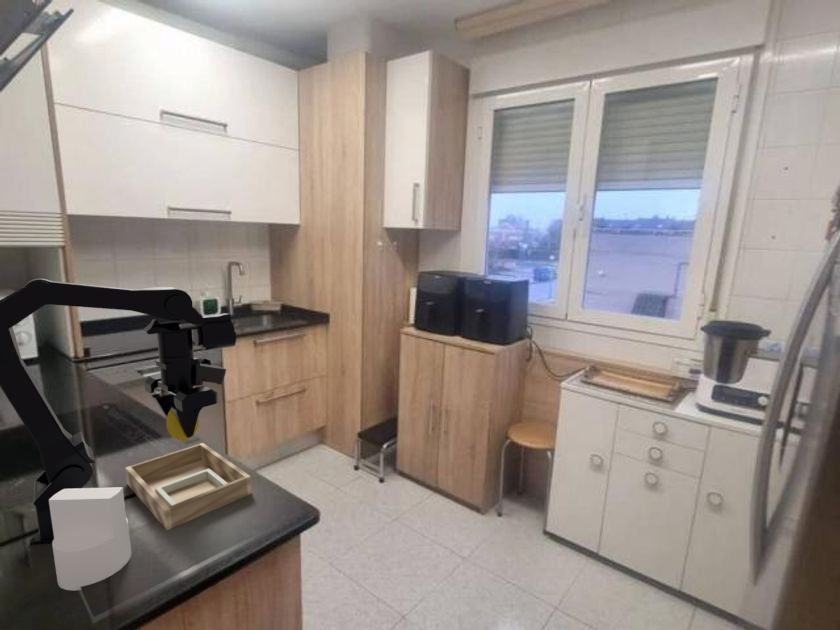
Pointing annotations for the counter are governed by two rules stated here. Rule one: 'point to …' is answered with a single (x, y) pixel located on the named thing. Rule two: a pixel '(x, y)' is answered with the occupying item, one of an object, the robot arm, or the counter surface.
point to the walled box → (190, 497)
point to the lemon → (177, 427)
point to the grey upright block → (89, 535)
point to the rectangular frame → (185, 481)
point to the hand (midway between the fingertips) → (183, 432)
